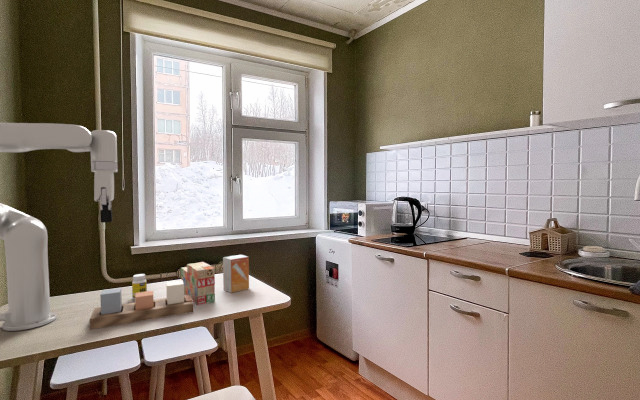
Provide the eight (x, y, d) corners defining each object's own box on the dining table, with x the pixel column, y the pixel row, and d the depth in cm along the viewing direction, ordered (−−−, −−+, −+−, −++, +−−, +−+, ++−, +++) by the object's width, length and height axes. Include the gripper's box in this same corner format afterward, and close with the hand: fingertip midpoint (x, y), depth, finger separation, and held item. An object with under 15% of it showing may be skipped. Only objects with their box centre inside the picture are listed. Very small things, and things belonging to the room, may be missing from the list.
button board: (90, 329, 98) (89, 317, 97) (95, 317, 106) (94, 306, 106) (193, 312, 110) (193, 301, 110) (190, 303, 119) (190, 293, 119)
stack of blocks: (181, 290, 134) (180, 259, 134) (197, 287, 138) (196, 257, 137) (197, 305, 117) (196, 270, 116) (215, 301, 120) (214, 267, 120)
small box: (231, 293, 129) (230, 259, 129) (223, 289, 134) (222, 257, 134) (249, 288, 135) (249, 256, 135) (241, 285, 140) (240, 254, 139)
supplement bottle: (140, 300, 123) (140, 277, 123) (129, 299, 124) (128, 276, 124) (149, 296, 128) (149, 273, 127) (138, 295, 129) (138, 273, 128)
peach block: (135, 316, 105) (135, 297, 105) (136, 311, 109) (135, 292, 109) (153, 313, 107) (153, 294, 107) (153, 308, 112) (153, 290, 111)
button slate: (101, 314, 101) (100, 294, 101) (103, 309, 105) (102, 290, 105) (120, 311, 103) (119, 292, 103) (121, 306, 107) (121, 287, 107)
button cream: (167, 304, 109) (166, 286, 109) (166, 300, 113) (166, 282, 113) (184, 302, 111) (183, 283, 111) (182, 297, 115) (182, 280, 115)
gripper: (94, 168, 120) (96, 220, 120) (87, 166, 106) (89, 224, 107) (119, 169, 123) (121, 219, 124) (115, 166, 110) (117, 223, 110)
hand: (106, 221), depth 115 cm, fingers closed
